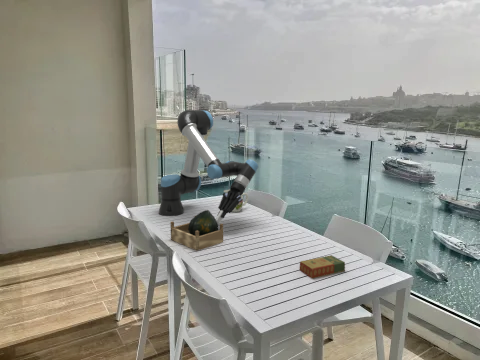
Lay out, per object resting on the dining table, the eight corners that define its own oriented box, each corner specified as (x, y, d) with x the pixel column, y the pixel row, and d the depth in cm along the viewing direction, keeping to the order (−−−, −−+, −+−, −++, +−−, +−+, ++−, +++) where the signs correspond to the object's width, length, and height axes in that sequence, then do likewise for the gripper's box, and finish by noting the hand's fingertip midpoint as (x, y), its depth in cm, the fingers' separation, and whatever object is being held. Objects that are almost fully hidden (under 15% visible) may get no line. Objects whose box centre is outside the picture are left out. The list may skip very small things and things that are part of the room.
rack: (170, 239, 171) (170, 221, 169) (196, 232, 182) (196, 215, 181) (197, 250, 157) (197, 231, 156) (223, 241, 168) (223, 223, 167)
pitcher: (252, 210, 224) (252, 189, 221) (228, 214, 214) (228, 192, 212) (243, 206, 233) (243, 186, 230) (219, 210, 223) (219, 189, 221)
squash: (181, 233, 164) (202, 209, 162) (184, 224, 178) (204, 203, 177) (204, 252, 165) (225, 229, 164) (205, 242, 180) (225, 221, 179)
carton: (299, 270, 138) (299, 260, 138) (331, 263, 145) (331, 254, 144) (312, 279, 131) (312, 268, 130) (345, 271, 138) (345, 261, 137)
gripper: (252, 191, 183) (229, 229, 174) (234, 187, 192) (212, 223, 183) (245, 182, 178) (221, 221, 170) (227, 179, 187) (204, 216, 178)
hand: (216, 222), depth 176 cm, fingers closed
